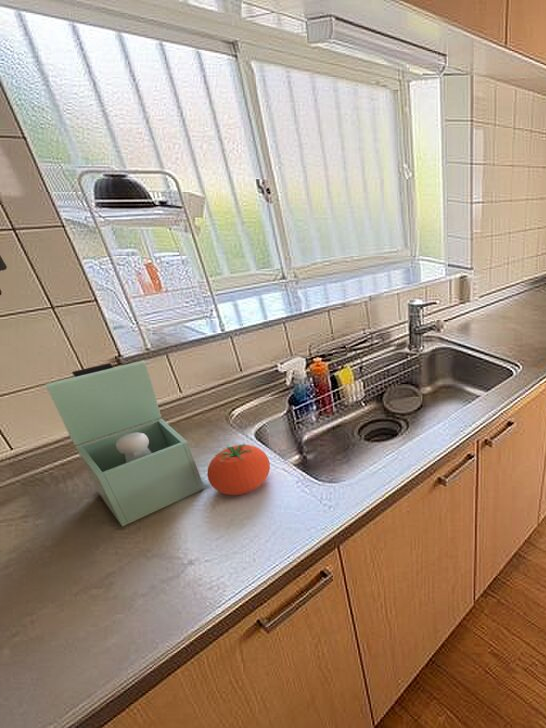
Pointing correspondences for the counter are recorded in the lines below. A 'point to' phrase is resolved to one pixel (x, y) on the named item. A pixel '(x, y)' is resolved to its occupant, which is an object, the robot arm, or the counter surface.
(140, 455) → the salt shaker
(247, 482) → the tomato
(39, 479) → the counter surface
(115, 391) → the green box lid
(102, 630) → the counter surface
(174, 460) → the mint green box
